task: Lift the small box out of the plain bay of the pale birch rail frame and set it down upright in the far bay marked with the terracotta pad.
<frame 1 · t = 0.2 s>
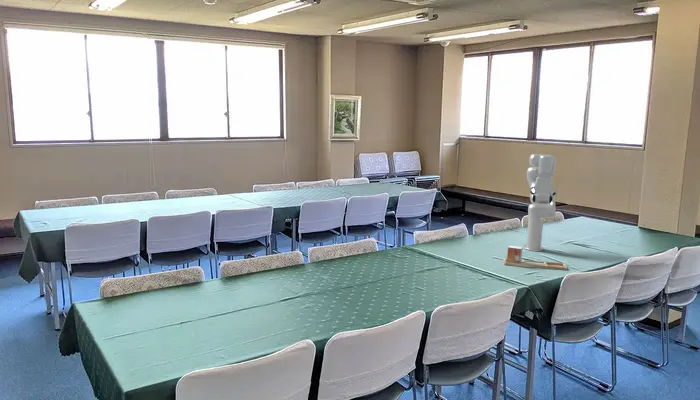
hand: (542, 202, 332), 36 cm above the table, tool pointing down, fingers open, 9 cm apart
small box: (513, 263, 324), resting in rail frame
rail frame: (534, 265, 322), on the table
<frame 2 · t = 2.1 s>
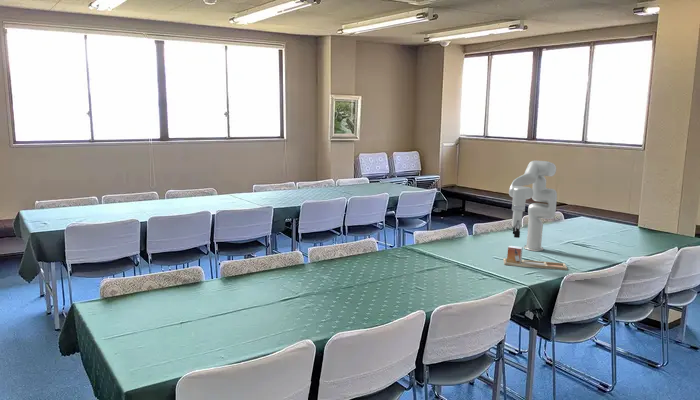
hand: (516, 235, 321), 18 cm above the table, tool pointing down, fingers open, 9 cm apart
nothing on the table moved.
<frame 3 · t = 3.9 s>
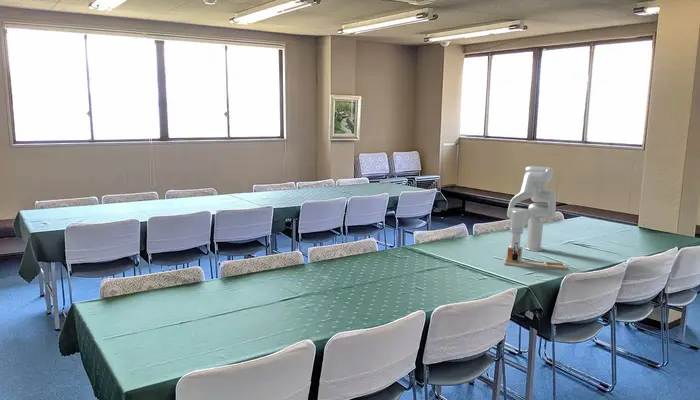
hand: (514, 258, 324), 3 cm above the table, tool pointing down, fingers closed on small box, 6 cm apart
small box: (513, 263, 324), resting in rail frame, touching gripper
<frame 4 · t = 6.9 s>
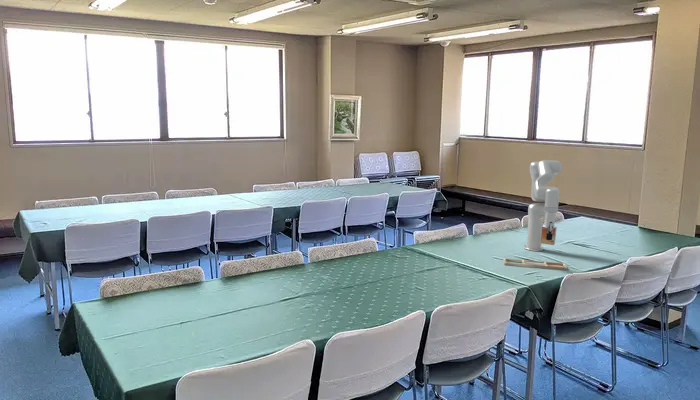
hand: (548, 238, 318), 17 cm above the table, tool pointing down, fingers closed on small box, 6 cm apart
small box: (547, 243, 318), point 14 cm above the table, touching gripper
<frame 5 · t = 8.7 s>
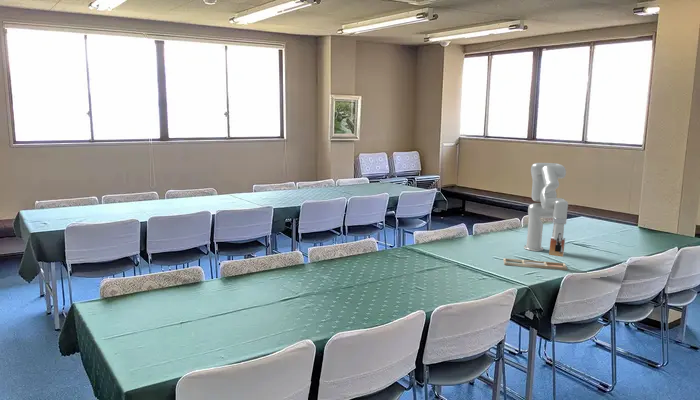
hand: (556, 249, 317), 11 cm above the table, tool pointing down, fingers closed on small box, 6 cm apart
small box: (556, 255, 318), point 7 cm above the table, touching gripper
when the fingers open (5 cm above the table, at t = 10.2 s): small box drops 1 cm, resting on rail frame.
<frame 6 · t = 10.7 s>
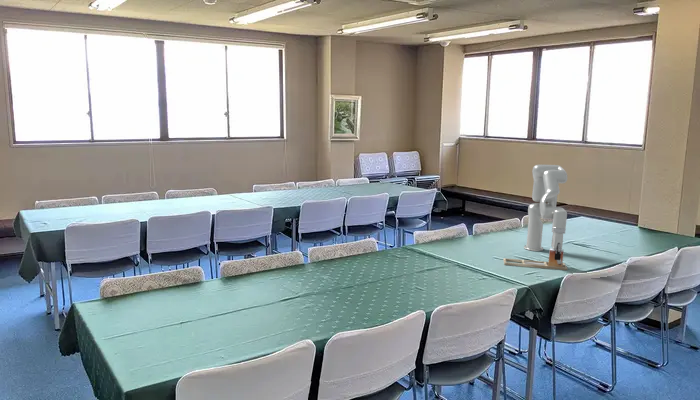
hand: (556, 257, 318), 6 cm above the table, tool pointing down, fingers open, 9 cm apart
small box: (554, 266, 320), resting on rail frame
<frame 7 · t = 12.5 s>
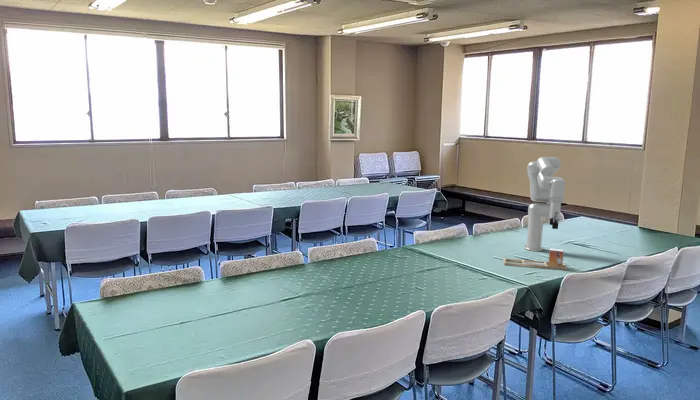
hand: (553, 226, 321), 24 cm above the table, tool pointing down, fingers open, 9 cm apart
nothing on the table moved.
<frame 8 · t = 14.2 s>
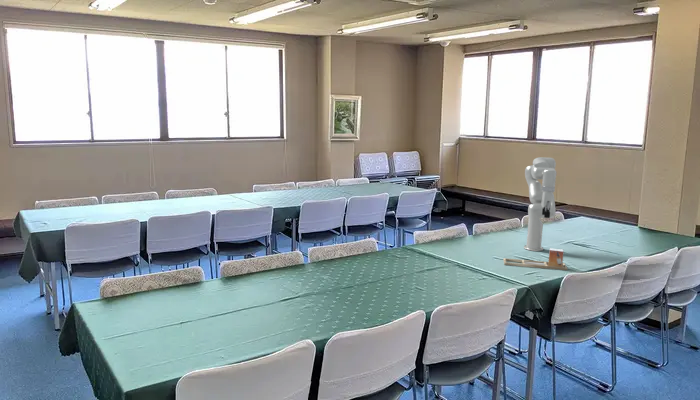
hand: (545, 216, 329), 28 cm above the table, tool pointing down, fingers open, 9 cm apart
nothing on the table moved.
at the end: small box 0.5 cm from the target spot on the rail frame, point 0.0 cm above the rail frame's base; small box tilted 0°; the gripper is holding nothing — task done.
